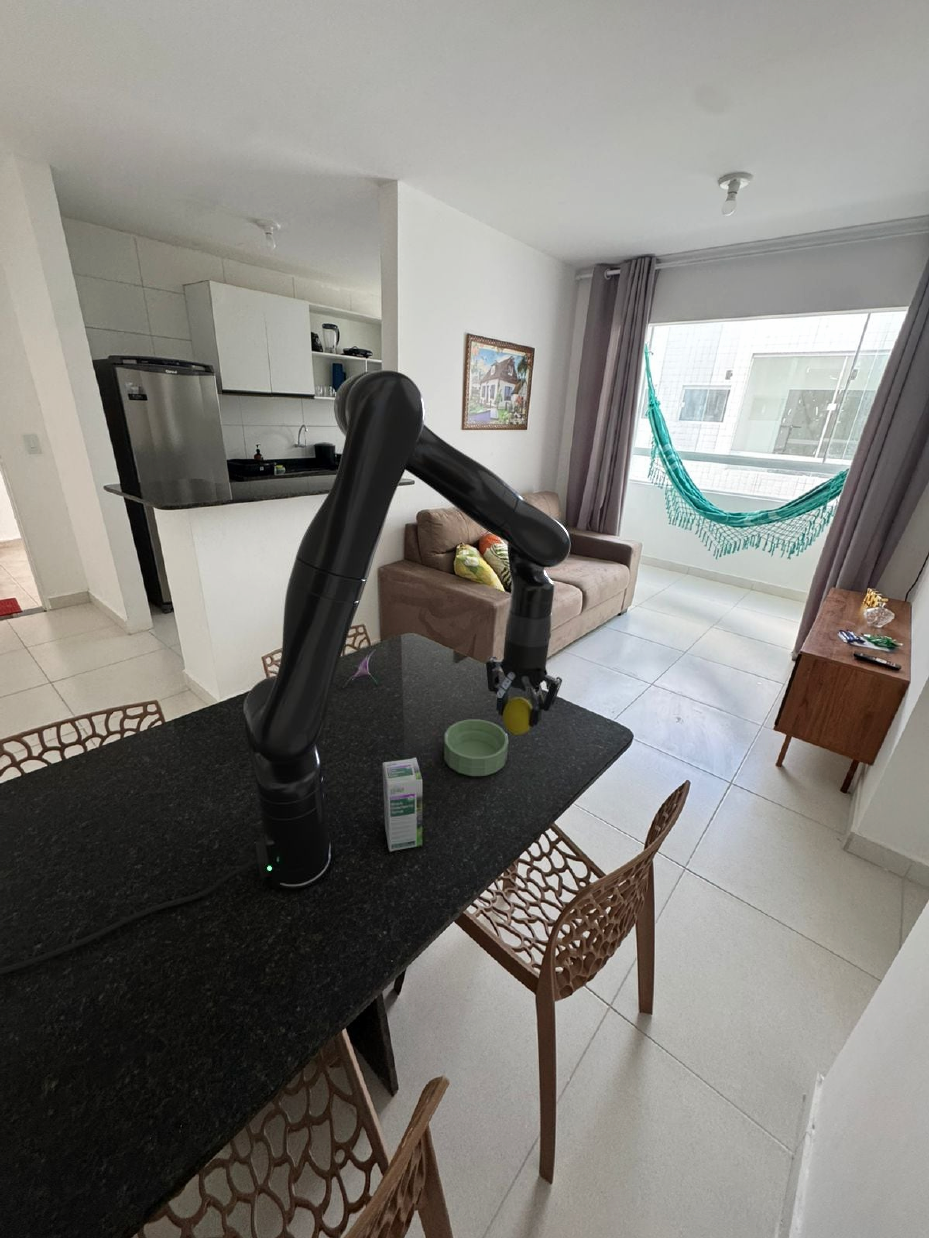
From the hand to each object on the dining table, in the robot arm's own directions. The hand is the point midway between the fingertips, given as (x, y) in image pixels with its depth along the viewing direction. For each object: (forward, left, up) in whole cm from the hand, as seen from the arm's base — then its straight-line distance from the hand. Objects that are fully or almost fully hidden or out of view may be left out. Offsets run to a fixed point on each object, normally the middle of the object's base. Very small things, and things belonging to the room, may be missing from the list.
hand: (517, 718), depth 93 cm
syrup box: (-23, -3, -17) cm, 29 cm away
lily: (-16, +49, -17) cm, 55 cm away
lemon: (0, 0, -4) cm, 4 cm away
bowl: (-2, +11, -17) cm, 20 cm away
